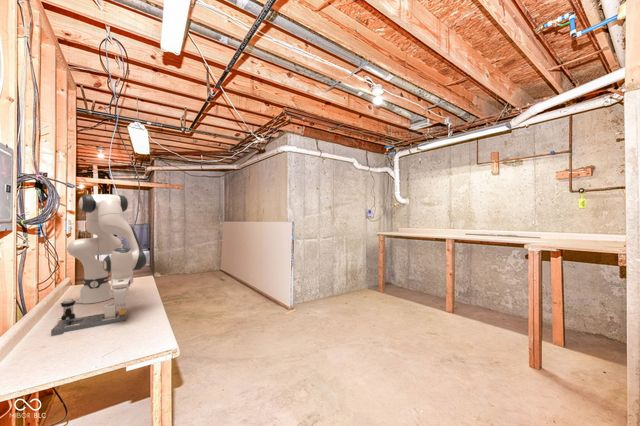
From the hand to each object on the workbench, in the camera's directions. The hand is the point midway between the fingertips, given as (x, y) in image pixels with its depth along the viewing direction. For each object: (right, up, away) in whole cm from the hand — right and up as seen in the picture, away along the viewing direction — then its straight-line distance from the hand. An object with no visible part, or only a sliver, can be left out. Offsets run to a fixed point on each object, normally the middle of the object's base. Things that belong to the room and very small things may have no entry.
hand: (122, 308), depth 130 cm
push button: (-29, -7, 0) cm, 29 cm away
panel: (-10, -6, -6) cm, 13 cm away
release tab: (0, -5, 0) cm, 5 cm away
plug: (-4, -6, -2) cm, 7 cm away
